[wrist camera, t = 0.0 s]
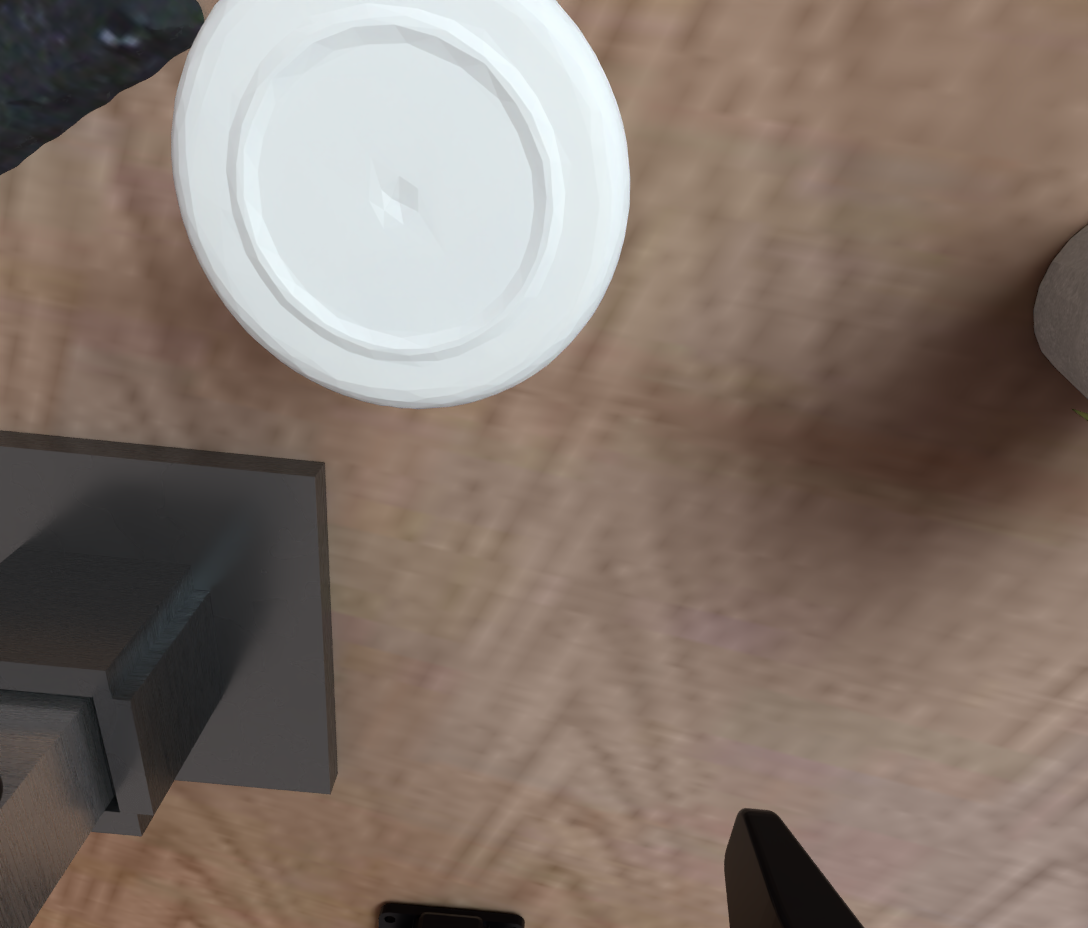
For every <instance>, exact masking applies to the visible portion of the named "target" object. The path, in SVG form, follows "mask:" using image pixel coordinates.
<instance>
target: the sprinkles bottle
mask: <svg viewBox="0 0 1088 928" xmlns="http://www.w3.org/2000/svg"><path fill="white" fill-rule="evenodd" d="M171 158H172V169H173V179H174V184H175V190H176V195H177V199H178V204H179V208H180V212H181V216H182V220H183V223H184V225H185V228H186V231H187V234H188V237H189V240H190V243H191V245H192V247H193V250H194V252H195V254H196V256H197V259H198V261H199V263H200V265H201V267H202V269H203V271H204V272H205V274H206V276H207V278H208V280H209V282H210V283H211V285H212V287H213V288H214V290H215V291H216V293H217V294H218V296H219V297H220V299H221V300H222V302H223V303H224V305H225V306H226V308H227V309H228V310H229V311H230V313H231V314H232V315H233V316H234V317H235V318H236V320H237V321H238V322H239V323H240V324H241V326H242V327H243V328H244V329H245V331H246V332H247V333H248V334H249V335H251V336H252V337H253V338H254V339H255V340H256V341H257V342H258V343H260V344H261V345H262V346H263V347H264V348H265V349H266V350H268V351H269V352H270V353H271V354H272V355H274V356H275V357H276V358H277V359H278V360H280V361H281V362H282V363H284V364H285V365H287V366H288V367H290V368H291V369H292V370H294V371H295V372H297V373H299V374H301V375H302V376H304V377H306V378H308V379H309V380H311V381H313V382H315V383H317V384H319V385H321V386H323V387H325V388H327V389H329V390H332V391H335V392H337V393H340V394H342V395H345V396H348V397H351V398H354V399H357V400H360V401H364V402H368V403H372V404H376V405H380V406H391V407H397V408H413V409H427V408H440V407H452V406H457V405H462V404H467V403H472V402H475V401H478V400H481V399H484V398H487V397H490V396H493V395H495V394H498V393H500V392H502V391H505V390H507V389H509V388H511V387H514V386H516V385H517V384H519V383H521V382H523V381H524V380H526V379H528V378H529V377H531V376H533V375H534V374H536V373H537V372H539V371H540V370H541V369H543V368H544V367H546V366H547V365H548V364H549V363H550V362H552V361H553V360H554V359H555V358H556V357H557V356H558V355H559V354H560V353H561V352H562V351H563V350H564V349H565V348H566V347H567V346H568V345H569V344H570V343H571V342H572V341H573V340H574V338H575V337H576V336H577V335H578V333H579V332H580V331H581V330H582V328H583V327H584V326H585V325H586V323H587V322H588V321H589V319H590V318H591V317H592V315H593V314H594V312H595V311H596V309H597V307H598V305H599V304H600V302H601V300H602V299H603V296H604V294H605V292H606V290H607V288H608V286H609V283H610V281H611V279H612V277H613V274H614V271H615V268H616V266H617V263H618V260H619V257H620V253H621V249H622V245H623V242H624V238H625V231H626V225H627V219H628V212H629V206H630V171H629V160H628V150H627V141H626V137H625V132H624V127H623V122H622V118H621V115H620V112H619V108H618V105H617V102H616V100H615V97H614V94H613V92H612V89H611V87H610V84H609V82H608V79H607V77H606V75H605V73H604V71H603V69H602V67H601V65H600V63H599V61H598V59H597V57H596V55H595V53H594V51H593V50H592V48H591V47H590V45H589V43H588V42H587V40H586V39H585V37H584V36H583V34H582V32H581V31H580V29H579V28H578V26H577V25H576V24H575V23H574V22H573V20H572V19H571V18H570V17H569V16H568V14H567V13H566V12H565V11H564V10H563V8H562V7H561V6H560V5H559V4H558V2H557V1H556V0H220V1H219V2H218V3H216V4H215V6H214V7H213V9H212V11H211V12H210V14H209V15H208V17H207V19H206V20H205V22H204V23H203V25H202V27H201V29H200V30H199V32H198V34H197V36H196V38H195V40H194V42H193V44H192V47H191V49H190V51H189V53H188V55H187V59H186V62H185V65H184V69H183V72H182V75H181V79H180V82H179V85H178V89H177V93H176V97H175V105H174V114H173V123H172V133H171Z"/></svg>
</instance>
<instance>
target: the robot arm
mask: <svg viewBox="0 0 1088 928" xmlns="http://www.w3.org/2000/svg"><path fill="white" fill-rule="evenodd" d="M2 794H3V782H2V778H1V775H0V801H1V798H2ZM724 872H725V883H726V893H727V903H728V913H729V923H730V928H864V927H863V926H862V924H861V923H860V922H859V920H858V919H857V918H856V916H855V915H854V914H853V913H852V911H851V910H850V909H849V907H848V906H847V905H846V903H845V902H844V901H843V899H842V898H841V897H840V896H839V894H838V893H837V892H836V890H835V889H834V888H833V886H832V885H831V884H830V882H829V881H828V880H827V879H826V877H825V876H824V875H823V873H822V872H821V871H820V869H819V868H818V867H817V865H816V864H815V863H814V862H813V860H812V859H811V858H810V856H809V855H808V854H807V852H806V851H805V850H804V849H803V847H802V846H801V845H800V843H799V842H798V841H797V839H796V838H795V837H794V835H793V834H792V833H791V832H790V830H789V829H788V828H787V826H786V825H785V824H784V822H783V821H782V820H781V818H780V817H779V816H778V815H777V814H775V813H774V812H772V811H769V810H760V809H749V808H744V809H742V810H740V811H739V813H738V815H737V817H736V820H735V823H734V826H733V830H732V833H731V836H730V839H729V842H728V845H727V849H726V852H725V860H724ZM524 926H525V922H524V919H523V918H522V917H520V916H519V915H513V914H502V913H491V912H479V911H468V910H457V909H446V908H435V907H423V906H412V905H401V904H386V905H383V906H382V907H381V910H380V915H379V928H524Z"/></svg>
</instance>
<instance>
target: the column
mask: <svg viewBox="0 0 1088 928" xmlns="http://www.w3.org/2000/svg"><path fill="white" fill-rule="evenodd" d="M0 775H1V778H2V782H3V794H2V798H1V801H0V928H29V926H30V925H31V923H32V921H33V920H34V918H35V917H36V915H37V914H38V912H39V911H40V909H41V908H42V906H43V905H44V903H45V901H46V900H47V898H48V897H49V895H50V894H51V892H52V891H53V889H54V888H55V886H56V885H57V883H58V881H59V880H60V878H61V877H62V875H63V874H64V872H65V871H66V869H67V868H68V866H69V865H70V863H71V862H72V860H73V858H74V857H75V855H76V854H77V852H78V851H79V849H80V848H81V846H82V845H83V843H84V842H85V840H86V838H87V837H88V835H89V834H90V832H91V831H92V829H93V828H94V826H95V825H96V823H97V822H98V820H99V818H100V817H101V815H102V814H103V812H104V811H105V809H106V808H107V806H108V805H109V803H110V802H111V800H112V798H113V797H114V795H115V794H116V793H115V789H114V784H113V780H112V776H111V772H110V768H109V763H108V759H107V755H106V751H105V746H104V742H103V738H102V734H101V729H100V725H99V721H98V717H97V712H96V708H95V704H94V700H93V697H83V696H72V695H61V694H51V693H40V692H29V691H18V690H8V689H0Z"/></svg>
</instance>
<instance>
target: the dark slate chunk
mask: <svg viewBox="0 0 1088 928" xmlns="http://www.w3.org/2000/svg"><path fill="white" fill-rule="evenodd" d="M203 23H204V17H203V13H202V10H201V7H200V5H199V3H198V2H197V1H196V0H0V175H1V174H3V173H5V172H7V171H9V170H11V169H13V168H15V167H17V166H18V165H19V164H20V163H21V162H22V161H23V160H24V159H26V158H27V157H28V156H30V155H31V154H32V153H34V152H35V151H36V150H37V149H39V148H40V147H41V146H42V145H43V144H45V143H47V142H49V141H51V140H53V139H55V138H57V137H58V136H60V135H61V134H62V133H64V132H65V131H66V130H67V129H69V128H70V127H71V126H73V125H74V124H75V123H76V122H77V121H79V120H80V119H81V118H82V117H84V116H85V115H86V114H88V113H89V112H91V111H93V110H95V109H97V108H99V107H101V106H103V105H105V104H107V103H108V102H110V101H111V100H112V99H113V98H114V97H115V96H116V95H117V94H118V93H119V92H121V91H122V90H124V89H127V88H129V87H131V86H133V85H135V84H137V83H139V82H141V81H144V80H146V79H148V78H150V77H152V76H153V75H154V74H156V73H157V72H158V71H159V70H160V69H161V68H162V67H163V66H164V65H165V64H166V63H167V62H168V61H169V60H171V59H172V58H173V57H175V56H176V55H178V54H180V53H182V52H184V51H186V50H187V49H189V48H191V47H192V44H193V42H194V40H195V38H196V36H197V34H198V32H199V30H200V29H201V27H202V25H203Z"/></svg>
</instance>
